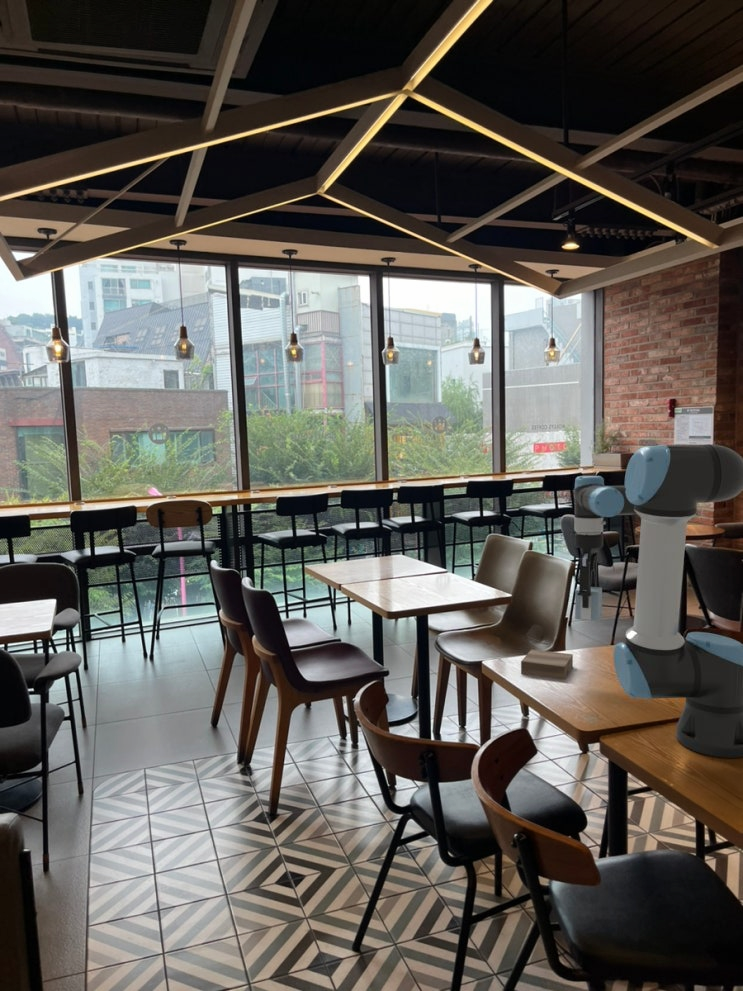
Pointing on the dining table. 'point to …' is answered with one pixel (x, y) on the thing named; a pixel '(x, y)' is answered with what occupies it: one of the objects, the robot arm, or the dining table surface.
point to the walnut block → (547, 664)
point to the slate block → (595, 604)
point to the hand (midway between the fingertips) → (588, 616)
